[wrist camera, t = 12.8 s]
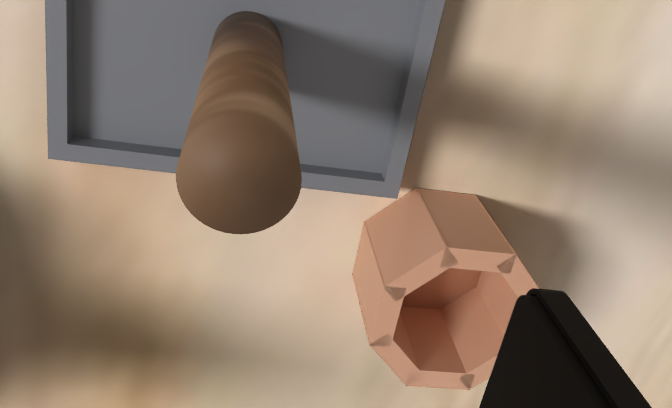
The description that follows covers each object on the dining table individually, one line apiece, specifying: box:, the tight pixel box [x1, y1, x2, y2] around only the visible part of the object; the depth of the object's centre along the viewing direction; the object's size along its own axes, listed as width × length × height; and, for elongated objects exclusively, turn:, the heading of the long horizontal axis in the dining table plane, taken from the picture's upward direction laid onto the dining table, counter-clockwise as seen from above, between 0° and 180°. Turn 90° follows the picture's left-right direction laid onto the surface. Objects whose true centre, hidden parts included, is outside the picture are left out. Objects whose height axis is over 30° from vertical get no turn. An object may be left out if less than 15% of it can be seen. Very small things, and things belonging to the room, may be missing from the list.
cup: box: [352, 188, 539, 390], centre depth 32 cm, size 8×8×6 cm
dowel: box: [176, 11, 302, 234], centre depth 22 cm, size 3×3×14 cm
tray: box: [45, 0, 445, 199], centre depth 28 cm, size 16×12×2 cm
